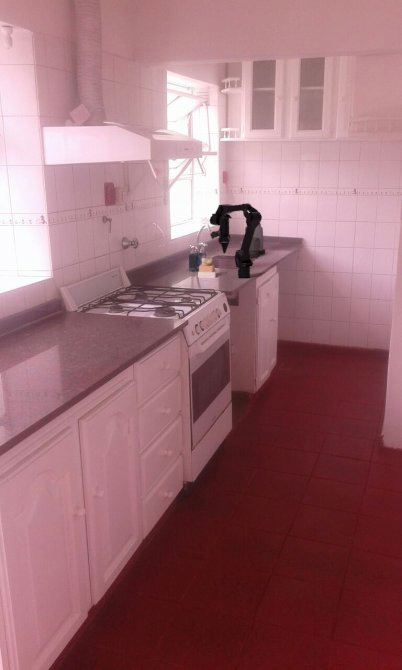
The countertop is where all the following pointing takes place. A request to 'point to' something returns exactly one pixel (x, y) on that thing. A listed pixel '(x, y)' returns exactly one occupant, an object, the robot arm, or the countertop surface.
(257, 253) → the juicer
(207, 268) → the tower top
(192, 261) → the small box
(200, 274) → the tower base
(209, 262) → the maple puck
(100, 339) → the countertop surface
